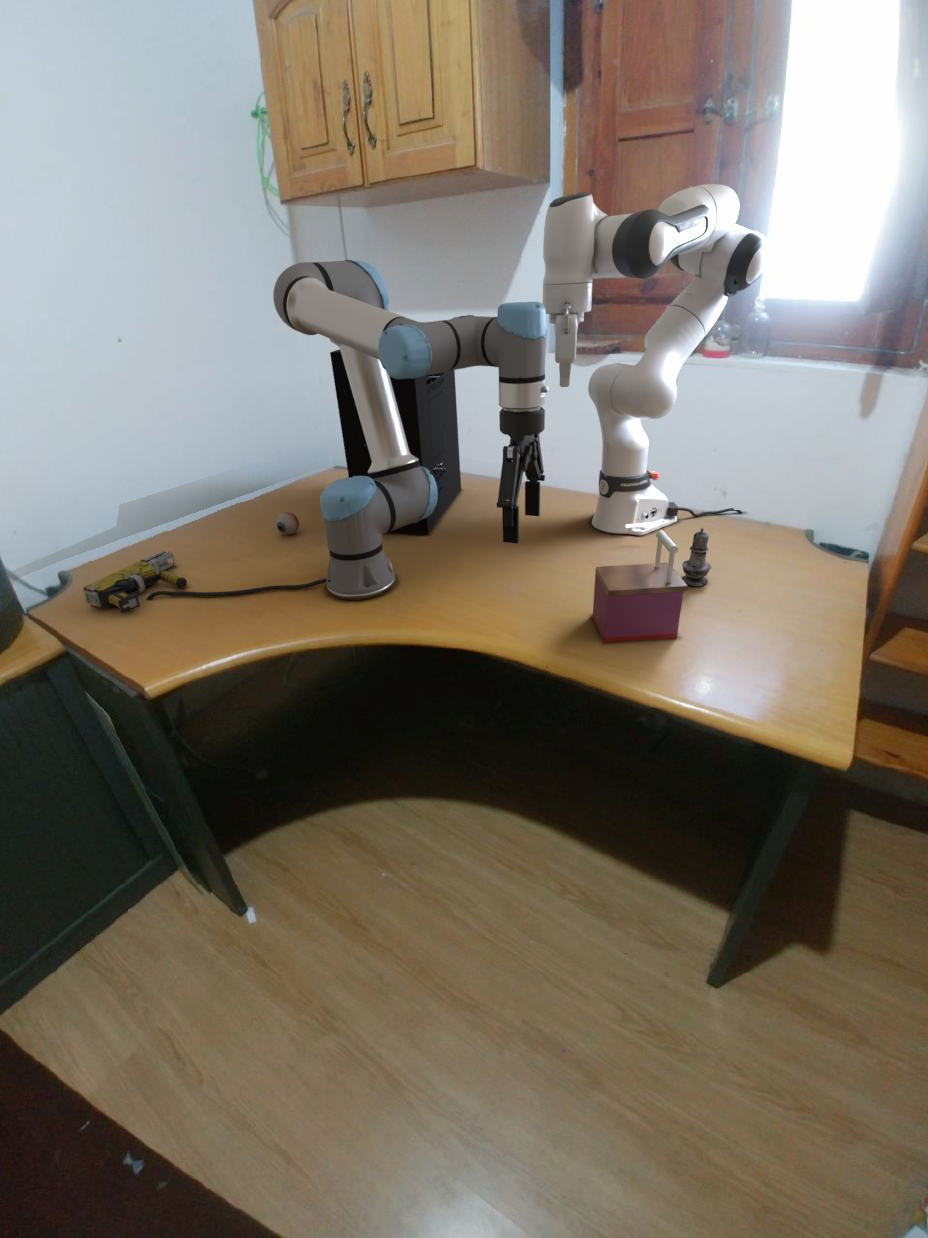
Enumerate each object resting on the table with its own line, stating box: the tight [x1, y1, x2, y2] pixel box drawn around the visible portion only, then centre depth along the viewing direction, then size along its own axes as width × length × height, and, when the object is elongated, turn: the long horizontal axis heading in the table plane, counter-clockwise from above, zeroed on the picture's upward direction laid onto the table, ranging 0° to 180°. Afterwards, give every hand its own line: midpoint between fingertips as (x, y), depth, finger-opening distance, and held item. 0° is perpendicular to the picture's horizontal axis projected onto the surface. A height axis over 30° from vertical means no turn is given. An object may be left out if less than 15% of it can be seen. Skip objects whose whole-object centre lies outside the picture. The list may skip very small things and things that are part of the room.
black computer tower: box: [329, 348, 462, 536], centre depth 166 cm, size 38×20×45 cm, turn 167°
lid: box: [595, 529, 689, 596], centre depth 108 cm, size 14×10×8 cm
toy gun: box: [82, 550, 188, 615], centre depth 138 cm, size 5×24×15 cm
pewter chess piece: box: [681, 527, 712, 587], centre depth 126 cm, size 6×6×12 cm
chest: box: [592, 572, 684, 643], centre depth 112 cm, size 13×10×10 cm
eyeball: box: [275, 511, 300, 536], centre depth 163 cm, size 6×6×6 cm
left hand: (522, 528), depth 110 cm, fingers open, 13 cm apart
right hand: (564, 382), depth 117 cm, fingers open, 8 cm apart
